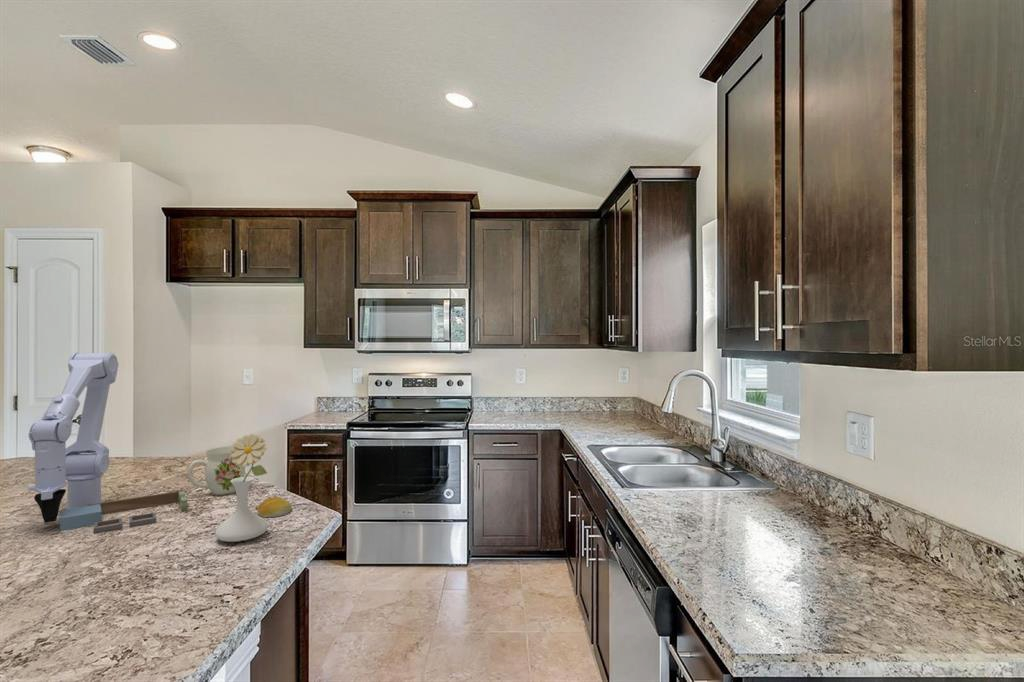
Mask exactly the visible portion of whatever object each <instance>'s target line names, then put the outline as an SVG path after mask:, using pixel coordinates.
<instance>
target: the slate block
mask: <svg viewBox="0 0 1024 682" xmlns="http://www.w3.org/2000/svg"><path fill="white" fill-rule="evenodd" d="M59 511H60V513H59V532H64V531H71V530H74V529H79V528H86V527H91V526H94V524H95V522H100V521H102V515H101V506H100V504H97V505H91V506H84V507H78V508H72V509H66V508H65V509H61V510H59Z"/></svg>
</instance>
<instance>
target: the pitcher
mask: <svg viewBox="0 0 1024 682" xmlns="http://www.w3.org/2000/svg"><path fill="white" fill-rule="evenodd" d="M231 448H233V445H228V446H222V447H215V448H210V449H208V450H206V451H205V454H206V457H207V460H204V459H196V460H193V461H192V462H191V464H190V465H189V466H188V469H187V478H188V481H189V483H190V484H191V485H193V486H195V487H196V488H202V489H209V490H210V492H211V493H212V495H216V496H225V494H226V495H230V493H231V494H234V493H236V490H235V487H234V485H233V484H232V483H231V480H232V479H235V478H240V477H245V474H244V473H242V472H240V471H237V470H235V469H234V468H233V467H232V466H234V467H235V468H237V469H240V470H243V471H244V472H245V473H246V466H245V467H242V466H241V464H240V465H236V463H235V464H234V463H233V462H232V459H233V458H231V455H232V454H230V451H231ZM198 465H204V477H205V482H204V483H201V482H199V481H197V480H195V478H194V477H193V471H194V468H195V467H196V466H198ZM233 492H234V493H233Z"/></svg>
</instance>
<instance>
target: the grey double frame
mask: <svg viewBox="0 0 1024 682" xmlns="http://www.w3.org/2000/svg"><path fill="white" fill-rule="evenodd" d="M128 523H129V528H133V527H134V528H135V527H140V526H145V525H151V524H156V523H157V516H156V512H151V513H150V512H149V513H144V514H137V515H131V516H129V522H128ZM122 529H123V517H119V518H115V519H106V520H101V521H100V522H95V524H94V525H93V535H95V534H101V533H105V532H111V531H116V530H122Z"/></svg>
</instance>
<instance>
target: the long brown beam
mask: <svg viewBox="0 0 1024 682" xmlns="http://www.w3.org/2000/svg"><path fill="white" fill-rule="evenodd" d="M187 502H188V500H187V497H186V494H185V492H184V490H178V491H177V490H176V491H169V492H164V493H163V492H162V493H157V494H151V495H144V496H137V497H130V498H124V499H118V500H110V501H105V502H104V501H103V502H102V503H96V504H89V505H87V506H91V505H97V504H100V506H101V516H103V515H106V514H107V515H108V514H112V513H113V514H115V513H119V512H120V513H121V512H126V511H132V510H138V509H139V510H140V509H145V508H146V509H147V508H150V507H151V508H152V507H157V506H158V507H159V506H163V505H164V506H165V505H170V504H176V503H178V505H179V509H180V511H181V513H182V512H187V511H188V508H187V507H188V503H187Z"/></svg>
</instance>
